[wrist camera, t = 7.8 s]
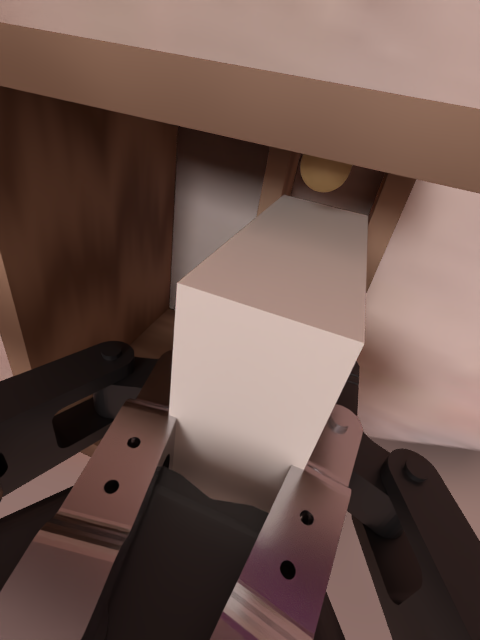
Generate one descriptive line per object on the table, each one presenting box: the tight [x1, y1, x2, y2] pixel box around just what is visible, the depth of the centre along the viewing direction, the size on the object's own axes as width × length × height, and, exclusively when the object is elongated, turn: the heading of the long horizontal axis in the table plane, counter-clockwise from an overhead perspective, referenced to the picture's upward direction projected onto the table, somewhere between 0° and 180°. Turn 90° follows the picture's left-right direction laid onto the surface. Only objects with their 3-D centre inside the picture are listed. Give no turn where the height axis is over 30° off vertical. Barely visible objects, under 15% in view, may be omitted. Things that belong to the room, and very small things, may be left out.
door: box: [169, 195, 368, 513], centre depth 11 cm, size 10×4×8 cm, turn 170°
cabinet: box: [0, 23, 480, 457], centre depth 16 cm, size 16×14×12 cm
